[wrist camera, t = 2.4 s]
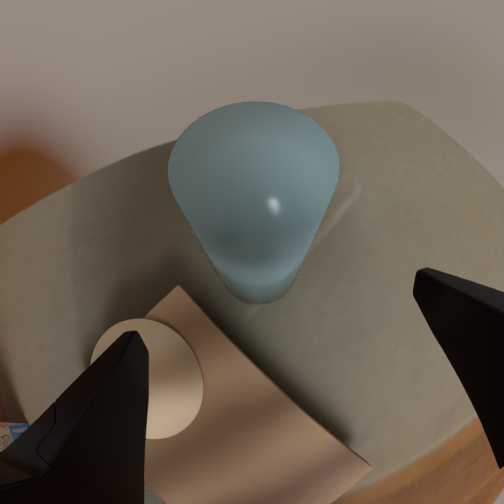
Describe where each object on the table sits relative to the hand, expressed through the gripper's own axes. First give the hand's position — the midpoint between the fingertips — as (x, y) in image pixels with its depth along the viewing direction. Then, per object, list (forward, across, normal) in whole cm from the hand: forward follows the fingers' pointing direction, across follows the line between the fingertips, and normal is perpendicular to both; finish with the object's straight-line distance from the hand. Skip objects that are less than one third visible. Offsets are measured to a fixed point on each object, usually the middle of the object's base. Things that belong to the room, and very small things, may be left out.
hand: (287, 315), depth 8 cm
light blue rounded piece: (+12, 0, +5) cm, 13 cm away
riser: (+3, +5, +13) cm, 14 cm away
